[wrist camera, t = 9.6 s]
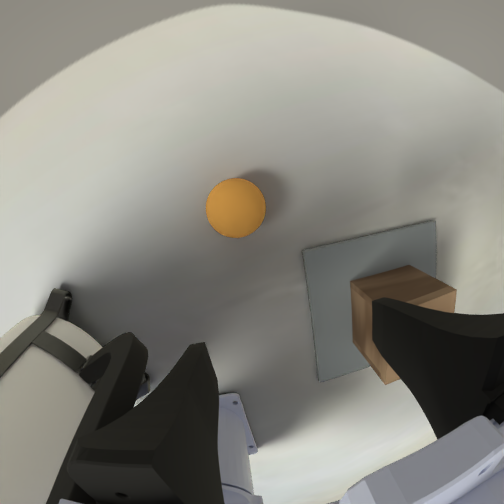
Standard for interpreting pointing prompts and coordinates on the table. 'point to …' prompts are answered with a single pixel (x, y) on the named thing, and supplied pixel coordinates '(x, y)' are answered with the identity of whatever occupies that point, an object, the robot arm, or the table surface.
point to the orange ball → (235, 208)
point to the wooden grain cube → (399, 288)
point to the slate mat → (339, 293)
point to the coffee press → (59, 399)
